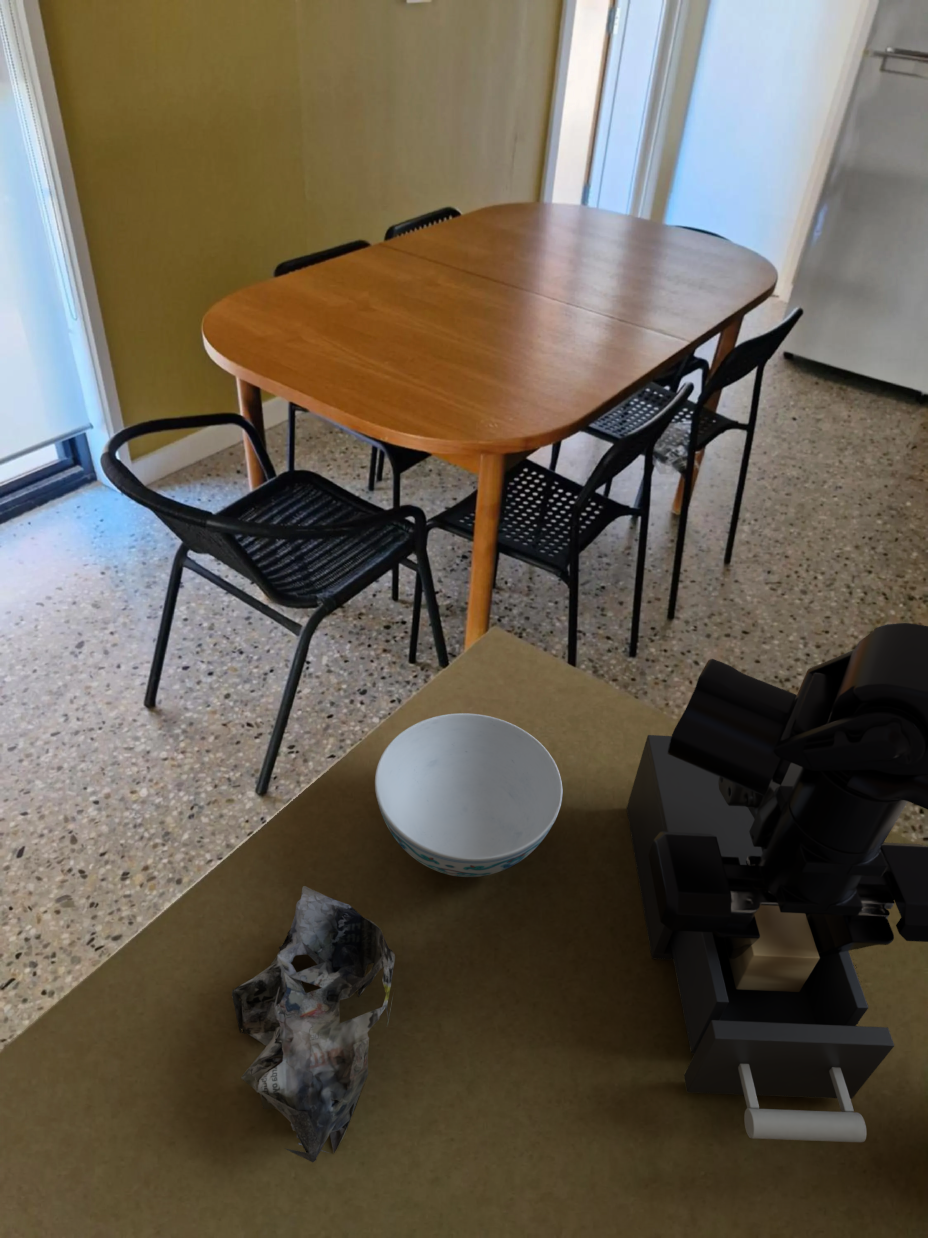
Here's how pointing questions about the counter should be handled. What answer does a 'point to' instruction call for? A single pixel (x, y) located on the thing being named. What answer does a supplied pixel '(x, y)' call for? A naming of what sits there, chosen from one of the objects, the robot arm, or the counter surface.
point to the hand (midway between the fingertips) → (764, 954)
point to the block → (777, 953)
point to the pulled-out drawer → (778, 1040)
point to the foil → (314, 1020)
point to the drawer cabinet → (678, 822)
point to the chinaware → (467, 793)
